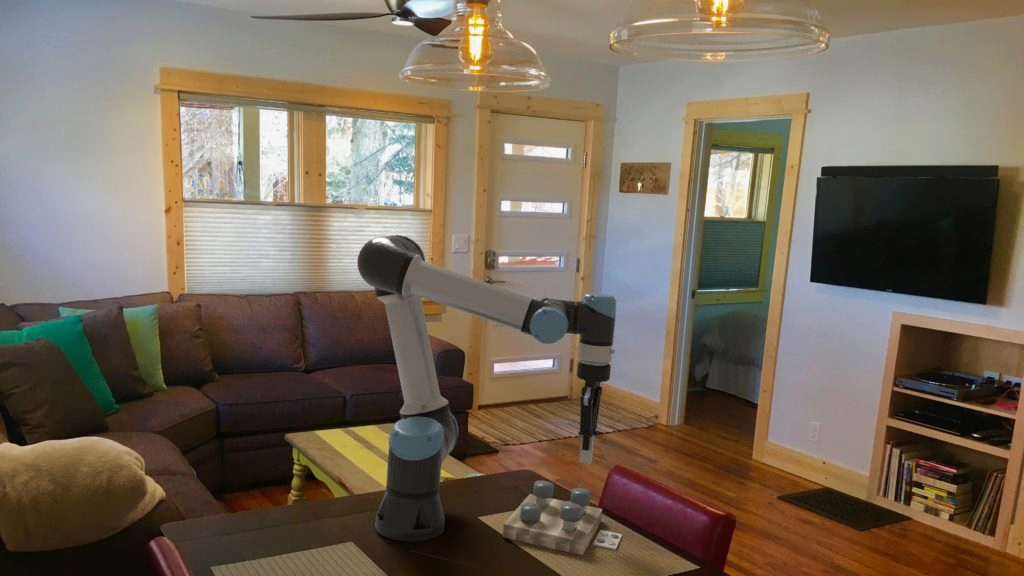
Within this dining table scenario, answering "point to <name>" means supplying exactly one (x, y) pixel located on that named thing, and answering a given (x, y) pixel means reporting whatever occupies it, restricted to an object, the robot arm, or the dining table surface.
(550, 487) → the button
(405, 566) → the dining table surface
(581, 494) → the button
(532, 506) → the button
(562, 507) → the button
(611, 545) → the tile
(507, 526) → the board
